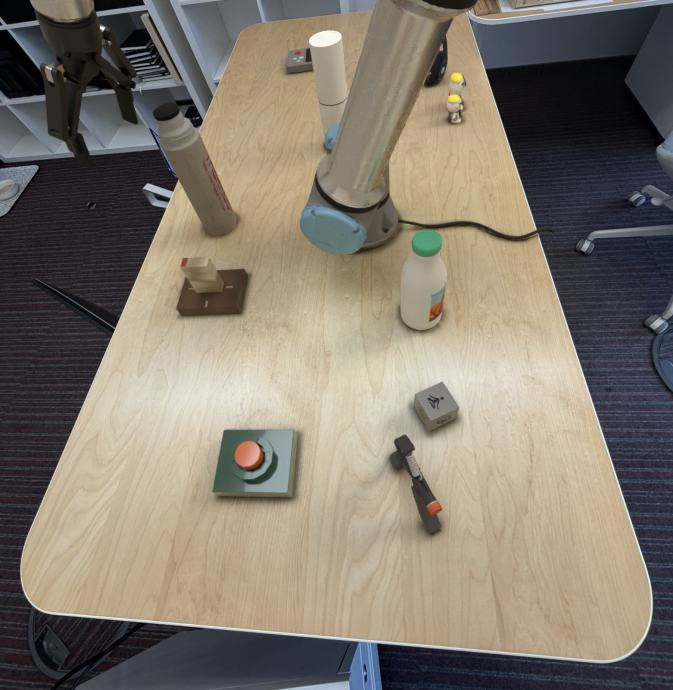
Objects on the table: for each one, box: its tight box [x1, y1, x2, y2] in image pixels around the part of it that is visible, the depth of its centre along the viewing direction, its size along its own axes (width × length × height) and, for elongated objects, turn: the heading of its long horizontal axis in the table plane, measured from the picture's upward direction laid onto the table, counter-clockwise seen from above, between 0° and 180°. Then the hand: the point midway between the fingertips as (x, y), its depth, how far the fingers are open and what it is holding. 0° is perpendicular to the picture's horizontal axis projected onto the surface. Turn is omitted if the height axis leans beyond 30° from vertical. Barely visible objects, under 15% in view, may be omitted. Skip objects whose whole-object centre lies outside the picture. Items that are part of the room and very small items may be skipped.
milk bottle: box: [400, 228, 448, 331], centre depth 71 cm, size 8×8×20 cm
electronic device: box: [286, 47, 314, 75], centre depth 134 cm, size 10×2×15 cm
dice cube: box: [413, 381, 460, 432], centre depth 67 cm, size 5×5×5 cm
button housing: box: [211, 429, 299, 498], centre depth 66 cm, size 12×10×5 cm
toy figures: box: [446, 72, 467, 124], centre depth 108 cm, size 12×4×8 cm, turn 169°
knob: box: [179, 256, 224, 293], centre depth 83 cm, size 6×2×8 cm, turn 88°
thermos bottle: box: [152, 102, 237, 237], centre depth 88 cm, size 8×8×28 cm
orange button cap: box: [235, 441, 264, 470], centre depth 63 cm, size 4×4×2 cm
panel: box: [175, 268, 248, 317], centre depth 87 cm, size 13×10×3 cm
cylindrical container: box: [308, 30, 349, 139], centre depth 99 cm, size 7×7×25 cm
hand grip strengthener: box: [389, 434, 443, 536], centre depth 56 cm, size 2×12×15 cm, turn 24°
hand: (109, 142), depth 75 cm, fingers open, 13 cm apart
